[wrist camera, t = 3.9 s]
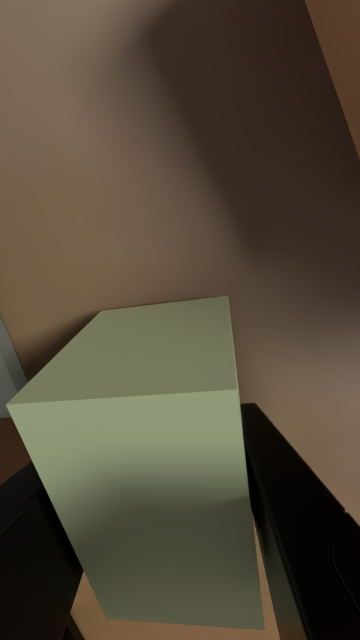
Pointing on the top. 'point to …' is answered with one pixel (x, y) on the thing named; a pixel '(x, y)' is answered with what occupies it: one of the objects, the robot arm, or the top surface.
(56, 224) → the top surface
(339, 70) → the brick terracotta
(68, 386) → the brick sage
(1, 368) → the coaster
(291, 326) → the top surface
